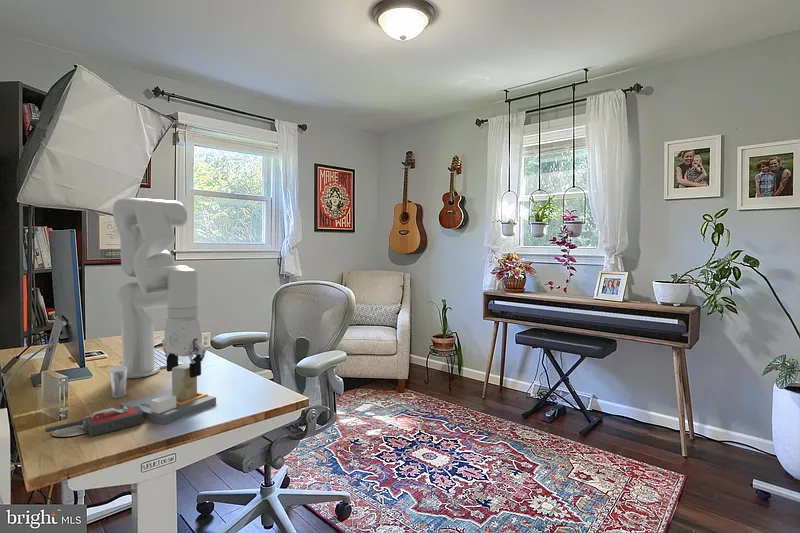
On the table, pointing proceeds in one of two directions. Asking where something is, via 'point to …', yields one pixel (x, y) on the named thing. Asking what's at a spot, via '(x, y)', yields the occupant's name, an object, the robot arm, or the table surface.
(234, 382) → the table surface
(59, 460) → the table surface
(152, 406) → the block
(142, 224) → the robot arm
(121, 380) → the milkshake
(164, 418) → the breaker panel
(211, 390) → the table surface
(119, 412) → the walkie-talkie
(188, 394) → the box
